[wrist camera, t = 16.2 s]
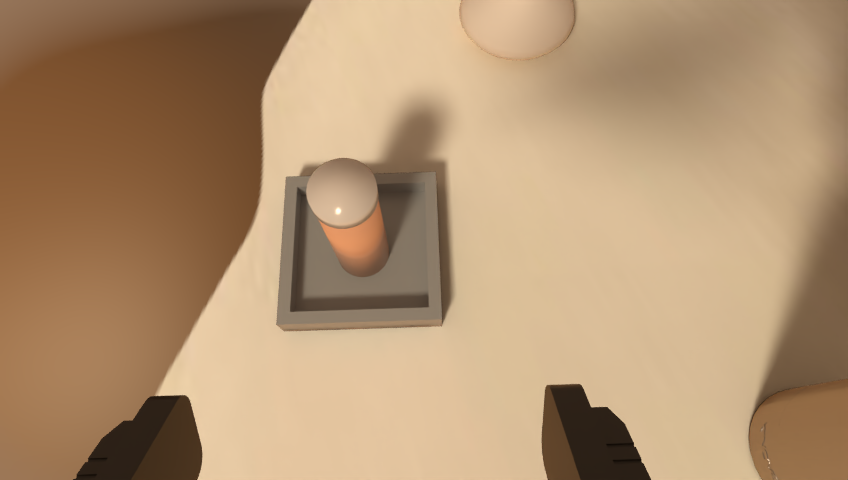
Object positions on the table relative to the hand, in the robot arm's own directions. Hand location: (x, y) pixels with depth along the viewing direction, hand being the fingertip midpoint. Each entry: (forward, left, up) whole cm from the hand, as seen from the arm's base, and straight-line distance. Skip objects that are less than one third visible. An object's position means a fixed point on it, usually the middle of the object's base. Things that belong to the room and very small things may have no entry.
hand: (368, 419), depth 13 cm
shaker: (+4, -16, -32) cm, 36 cm away
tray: (+4, -16, -33) cm, 36 cm away
